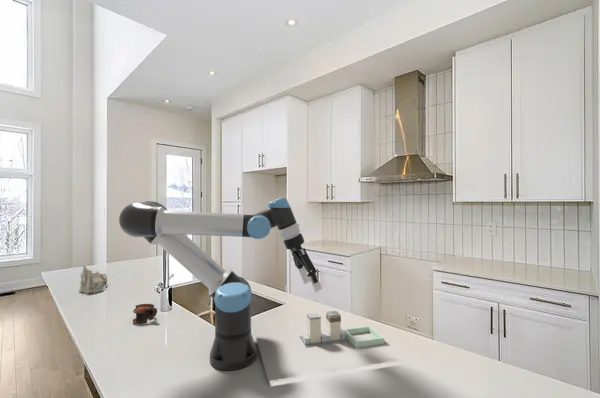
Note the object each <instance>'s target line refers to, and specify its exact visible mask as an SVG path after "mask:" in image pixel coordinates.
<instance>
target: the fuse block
mask: <svg viewBox="0 0 600 398" xmlns="http://www.w3.org/2000/svg"><path fill="white" fill-rule="evenodd" d="M299 338H300V340H301V342H302V343H303V345H304V346H305V348H306V349H307V348H315V347H323V346H328V345H336V344H337V345H338V344H343V343H350V341H349V340H348V339H347V338H346V333H345V332H344V331H343V329H342V328H341V339H340V340H333V341H330V335H329V334H328V333H327V332H326V330H321V342H318V343H310V338H309V337H308V335H307V332H304V333H301V335H300V336H299Z"/></svg>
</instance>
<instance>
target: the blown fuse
mask: <svg viewBox="0 0 600 398" xmlns="http://www.w3.org/2000/svg"><path fill="white" fill-rule="evenodd" d="M325 319H326V330H325V331H326V332H327V333H328V334H329V335H330V341H333V340H340V339H341V329H342V326H341V322H342V317H341V313H339V311H338V310H332V311H331V310H330V311H329V310H328V311H326V314H325Z"/></svg>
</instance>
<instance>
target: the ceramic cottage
mask: <svg viewBox="0 0 600 398" xmlns="http://www.w3.org/2000/svg"><path fill="white" fill-rule="evenodd" d="M79 275H80V282H79V283H80V284H79V286H80V287H79V290H78V292H79V291H80V292H84V293H83V294H85V293H94V294H97V293H96V292H98V293H101V292H100V291H102V292H103V290H104V291H105V290H107V288H106V287H108V286H109V284H108V277H107V275H106V273H101V272H100V271H99V270H97V271H96V272H93V271H92V270H91V269H88V268H87V266H86V265H83V266H82V272H81V273H80V274H79ZM109 287H110V286H109ZM109 287H108V288H109ZM80 292H79V293H80Z"/></svg>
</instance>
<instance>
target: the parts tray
mask: <svg viewBox="0 0 600 398" xmlns="http://www.w3.org/2000/svg"><path fill="white" fill-rule="evenodd" d="M342 330H343V331H344V332H345V333H346V339H347V340H348V341H349V343H351V344H352V345H353V346H354V347H355V348H362V347H369V346H374V345H375V346H377V345H383V344H385V337H384V336H382V335H381V334H380V333H379V332H378V331H377V330H375V328H373V327H371V326H370V325H364V326H363V325H362V326H355V327H350V328H343V329H342ZM362 333H369V334H371V335H372V337H373V338H367V339H358V340H357V339H356V338H355V337H354V336H353V334H355V335H356V334H362Z"/></svg>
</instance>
